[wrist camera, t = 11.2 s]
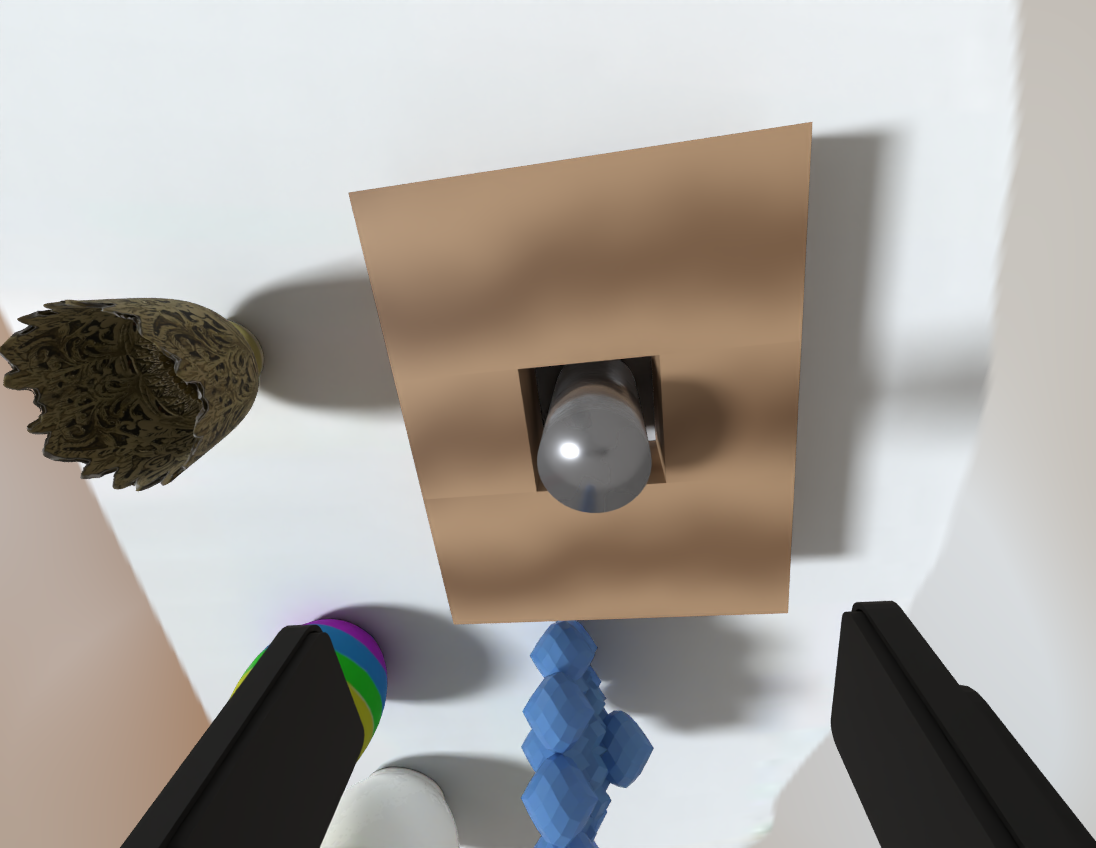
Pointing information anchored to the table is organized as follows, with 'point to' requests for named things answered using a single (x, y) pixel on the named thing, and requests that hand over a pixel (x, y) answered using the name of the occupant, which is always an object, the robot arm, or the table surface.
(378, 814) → the lidded jar
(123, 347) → the cup
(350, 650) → the decorative egg
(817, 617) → the table surface
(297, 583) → the table surface
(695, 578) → the walnut block
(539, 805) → the grapes
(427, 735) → the table surface
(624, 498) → the steel peg
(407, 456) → the table surface
